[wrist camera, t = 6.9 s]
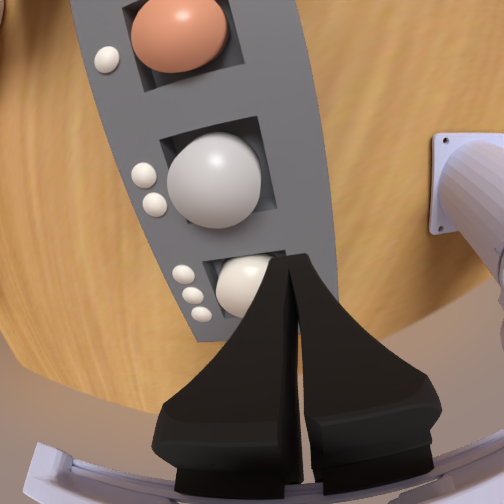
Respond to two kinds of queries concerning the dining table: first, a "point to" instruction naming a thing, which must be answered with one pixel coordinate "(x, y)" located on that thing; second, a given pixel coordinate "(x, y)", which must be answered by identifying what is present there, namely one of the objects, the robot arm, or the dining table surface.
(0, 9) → the ramekin
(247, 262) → the button three
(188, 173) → the button two
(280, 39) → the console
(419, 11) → the dining table surface
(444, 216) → the robot arm
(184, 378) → the dining table surface
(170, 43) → the button one
